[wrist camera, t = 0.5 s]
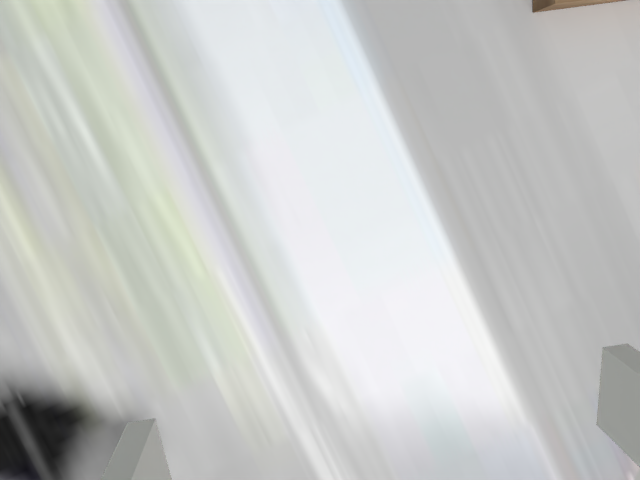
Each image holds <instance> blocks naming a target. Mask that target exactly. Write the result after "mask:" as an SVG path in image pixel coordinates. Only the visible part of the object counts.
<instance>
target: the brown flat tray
mask: <svg viewBox="0 0 640 480" xmlns="http://www.w3.org/2000/svg"><path fill="white" fill-rule="evenodd" d="M617 1H625V0H533V12H541V11H549V10H556V9H564V8H571V7H579V6H587V5H594V4H602V3H610V2H617Z"/></svg>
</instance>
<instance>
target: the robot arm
mask: <svg viewBox="0 0 640 480" xmlns="http://www.w3.org/2000/svg"><path fill="white" fill-rule="evenodd" d="M596 425H597V426H598V427H599V428H600V429H601V430H602V431H603V432H605V433H606V434H607V435H608V436H609V437H610V438H611V439H612V440H613V441H614V442H615V443H616V444H617V445H618V446H619V447H620V448H621V449H622V450H623V451H624V452H625V453H626V454H627V455H628V456H629V457H630V458H631V459H632V460H633V461H634V462H635V463H636V464H637V465H638V466H639V467H640V352H639V351H637V350H636V349H634V348H633V347H632V346H630V345H629V344H622V345H615V346H609V347H603V349H602V362H601V374H600V387H599V399H598V412H597V424H596ZM101 480H172V478H171V475H170V471H169V467H168V464H167V460H166V456H165V452H164V449H163V445H162V441H161V438H160V434H159V430H158V427H157V423H156V419H149V420H142V421H136V422H130V423H127V425H126V427H125V429H124V431H123V434H122V436H121V438H120V440H119V442H118V444H117V446H116V448H115V450H114V453H113V455H112V457H111V459H110V461H109V463H108V465H107V467H106V469H105V472H104V474H103V476H102V478H101Z"/></svg>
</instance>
